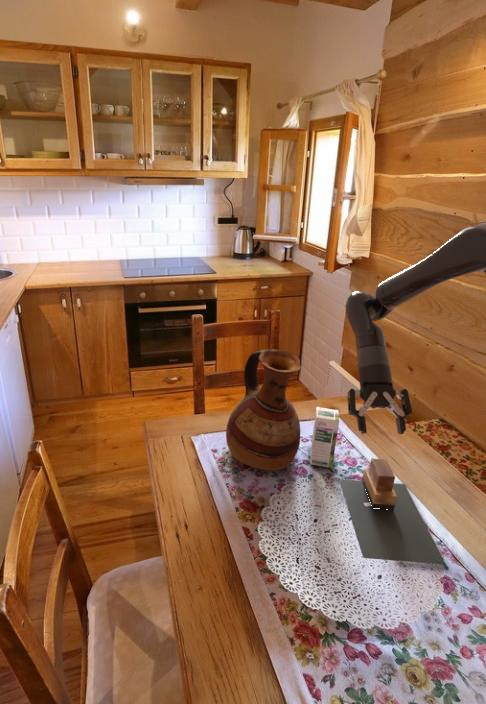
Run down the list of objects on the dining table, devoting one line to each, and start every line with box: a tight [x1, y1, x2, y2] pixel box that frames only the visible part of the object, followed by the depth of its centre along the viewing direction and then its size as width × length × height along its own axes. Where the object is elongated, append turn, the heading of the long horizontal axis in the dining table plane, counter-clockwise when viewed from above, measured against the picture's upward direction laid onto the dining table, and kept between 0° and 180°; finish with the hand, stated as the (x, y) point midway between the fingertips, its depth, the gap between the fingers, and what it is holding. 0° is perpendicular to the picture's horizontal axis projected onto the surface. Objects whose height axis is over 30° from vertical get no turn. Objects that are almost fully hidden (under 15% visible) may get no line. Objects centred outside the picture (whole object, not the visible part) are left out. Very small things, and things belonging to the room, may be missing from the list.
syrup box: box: [309, 406, 340, 469], centre depth 106 cm, size 6×6×14 cm
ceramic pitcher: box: [225, 348, 302, 471], centre depth 105 cm, size 20×20×30 cm
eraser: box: [361, 458, 397, 510], centre depth 95 cm, size 5×9×8 cm, turn 176°
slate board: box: [338, 478, 446, 565], centre depth 90 cm, size 16×22×1 cm
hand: (382, 433), depth 95 cm, fingers open, 8 cm apart
